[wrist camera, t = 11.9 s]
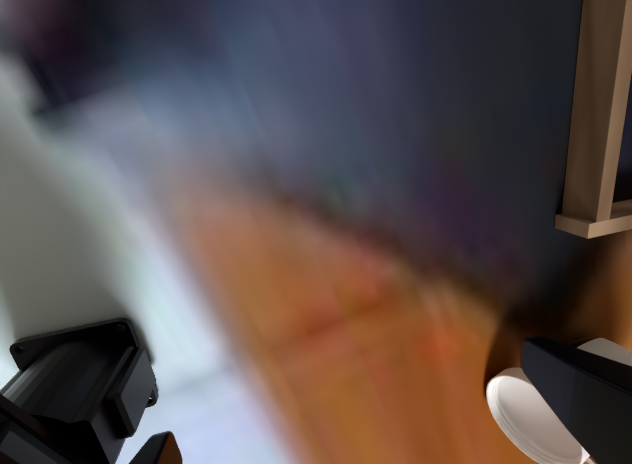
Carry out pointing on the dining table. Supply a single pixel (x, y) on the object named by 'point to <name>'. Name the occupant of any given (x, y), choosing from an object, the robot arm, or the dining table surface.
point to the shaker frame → (598, 121)
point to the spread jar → (542, 410)
